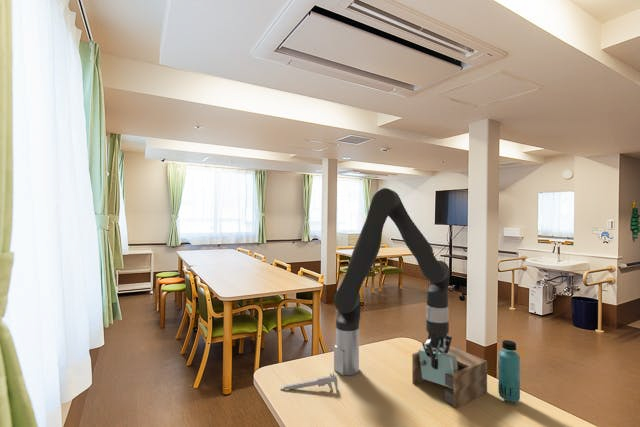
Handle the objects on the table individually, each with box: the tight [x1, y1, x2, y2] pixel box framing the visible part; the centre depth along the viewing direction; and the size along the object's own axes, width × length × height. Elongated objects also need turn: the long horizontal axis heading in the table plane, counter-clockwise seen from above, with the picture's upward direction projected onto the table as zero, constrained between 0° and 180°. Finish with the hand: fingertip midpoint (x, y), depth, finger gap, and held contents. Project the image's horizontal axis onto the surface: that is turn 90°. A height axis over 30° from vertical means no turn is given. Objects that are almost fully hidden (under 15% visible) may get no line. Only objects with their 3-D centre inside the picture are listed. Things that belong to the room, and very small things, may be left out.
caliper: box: [280, 372, 339, 391], centre depth 114 cm, size 20×1×6 cm, turn 90°
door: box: [418, 348, 458, 389], centre depth 112 cm, size 4×14×10 cm, turn 32°
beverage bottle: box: [497, 339, 521, 403], centre depth 107 cm, size 6×7×20 cm
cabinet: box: [411, 345, 488, 409], centre depth 115 cm, size 18×18×11 cm
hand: (437, 367), depth 112 cm, fingers closed on door, 2 cm apart
